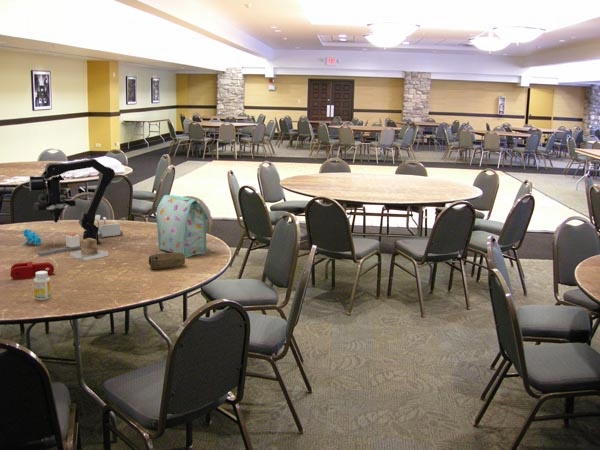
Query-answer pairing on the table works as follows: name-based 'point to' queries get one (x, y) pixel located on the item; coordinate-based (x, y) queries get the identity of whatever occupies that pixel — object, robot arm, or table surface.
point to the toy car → (108, 228)
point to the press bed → (89, 256)
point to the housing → (88, 246)
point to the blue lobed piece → (32, 237)
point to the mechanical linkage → (29, 270)
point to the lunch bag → (181, 225)
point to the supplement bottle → (42, 286)
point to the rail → (57, 250)
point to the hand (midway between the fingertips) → (55, 222)
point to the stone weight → (166, 260)
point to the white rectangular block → (72, 240)
